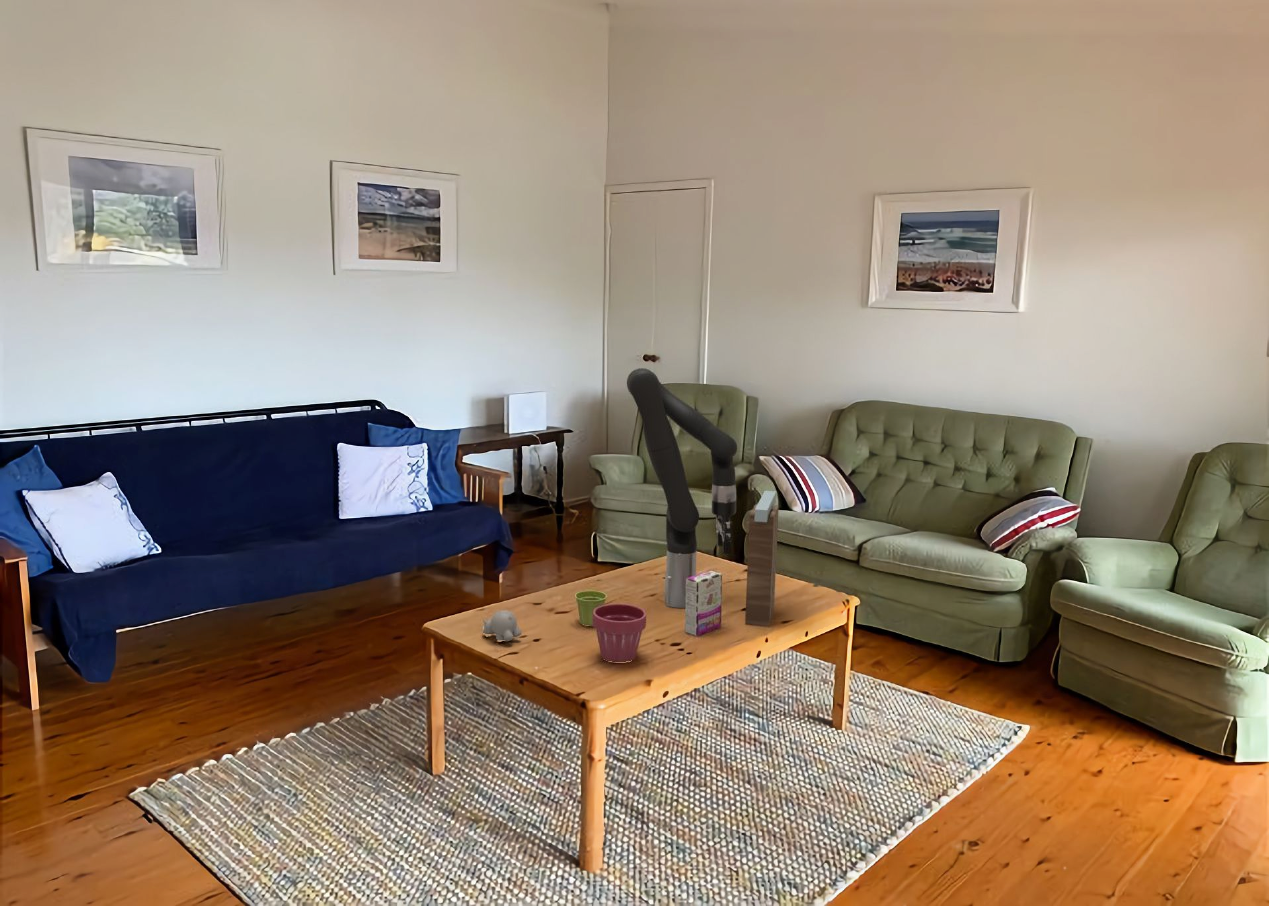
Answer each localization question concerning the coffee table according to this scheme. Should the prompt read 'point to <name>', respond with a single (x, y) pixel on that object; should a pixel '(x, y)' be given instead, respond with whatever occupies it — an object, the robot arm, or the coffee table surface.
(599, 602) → the plant pot
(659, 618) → the coffee table surface
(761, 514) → the rail
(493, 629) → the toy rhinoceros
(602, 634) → the plant pot
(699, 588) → the candy bar box
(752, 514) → the post
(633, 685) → the coffee table surface
